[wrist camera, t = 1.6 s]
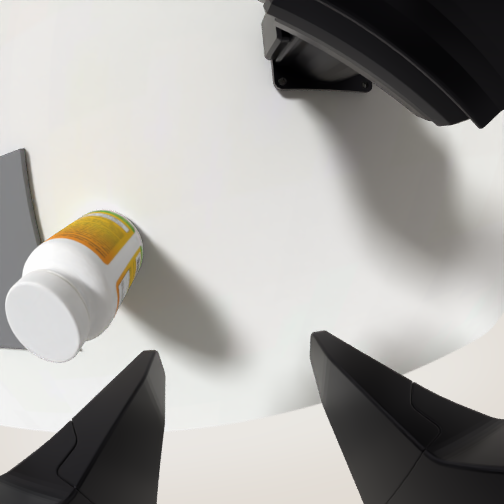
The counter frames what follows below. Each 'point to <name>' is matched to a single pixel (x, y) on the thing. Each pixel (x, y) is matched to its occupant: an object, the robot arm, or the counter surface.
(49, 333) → the supplement bottle
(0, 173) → the charcoal mat
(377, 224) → the counter surface
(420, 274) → the counter surface
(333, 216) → the counter surface
